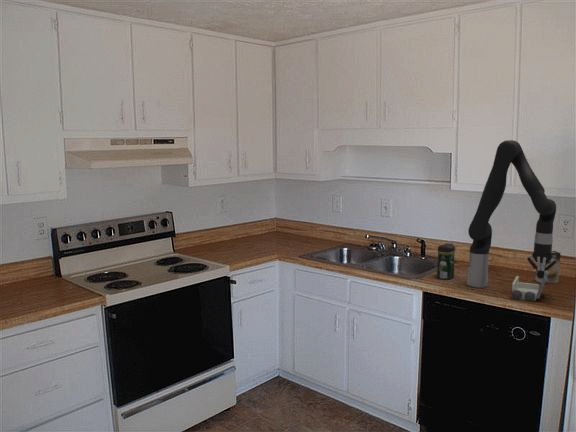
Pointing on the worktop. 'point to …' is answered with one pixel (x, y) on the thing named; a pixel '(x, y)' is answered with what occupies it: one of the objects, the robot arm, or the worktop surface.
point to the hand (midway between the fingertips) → (540, 278)
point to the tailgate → (542, 284)
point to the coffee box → (551, 270)
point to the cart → (524, 290)
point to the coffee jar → (446, 261)
